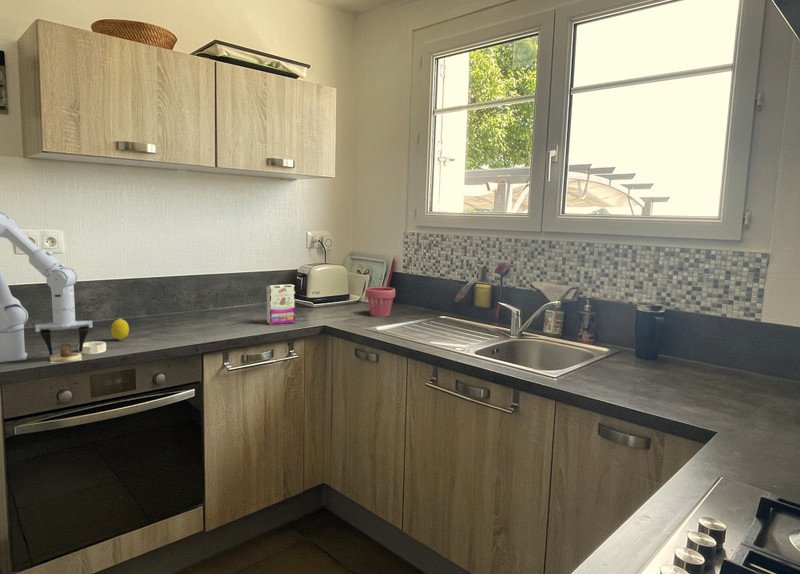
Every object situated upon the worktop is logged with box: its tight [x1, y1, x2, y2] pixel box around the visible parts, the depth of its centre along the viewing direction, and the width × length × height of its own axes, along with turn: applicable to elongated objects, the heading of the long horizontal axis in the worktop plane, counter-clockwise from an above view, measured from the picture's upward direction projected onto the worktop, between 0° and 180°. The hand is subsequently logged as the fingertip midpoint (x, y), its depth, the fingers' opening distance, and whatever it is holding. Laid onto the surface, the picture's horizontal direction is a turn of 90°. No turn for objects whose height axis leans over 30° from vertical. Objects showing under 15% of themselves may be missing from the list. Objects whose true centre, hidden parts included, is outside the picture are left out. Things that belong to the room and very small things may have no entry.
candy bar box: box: [266, 283, 296, 326], centre depth 228 cm, size 11×5×16 cm, turn 123°
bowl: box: [77, 341, 107, 355], centre depth 173 cm, size 8×8×3 cm
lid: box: [49, 343, 83, 363], centre depth 163 cm, size 8×8×4 cm
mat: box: [50, 358, 83, 364], centre depth 164 cm, size 8×8×1 cm
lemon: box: [110, 318, 130, 341], centre depth 189 cm, size 6×6×8 cm
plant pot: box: [365, 286, 396, 318], centre depth 255 cm, size 14×14×13 cm
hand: (65, 352), depth 163 cm, fingers open, 7 cm apart
